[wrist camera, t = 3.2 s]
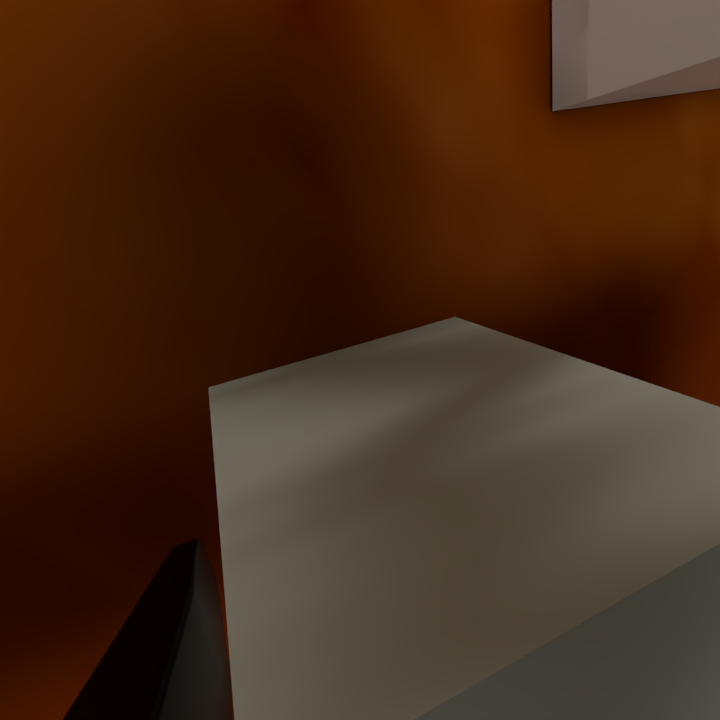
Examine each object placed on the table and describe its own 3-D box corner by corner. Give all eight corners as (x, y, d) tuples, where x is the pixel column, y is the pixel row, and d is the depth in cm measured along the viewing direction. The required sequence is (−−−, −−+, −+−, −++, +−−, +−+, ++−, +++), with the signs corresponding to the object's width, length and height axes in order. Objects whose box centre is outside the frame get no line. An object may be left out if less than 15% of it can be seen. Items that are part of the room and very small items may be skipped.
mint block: (453, 316, 9) (869, 457, 3) (471, 507, 10) (760, 800, 5) (207, 386, 7) (242, 817, 2) (276, 593, 9) (391, 1115, 4)
